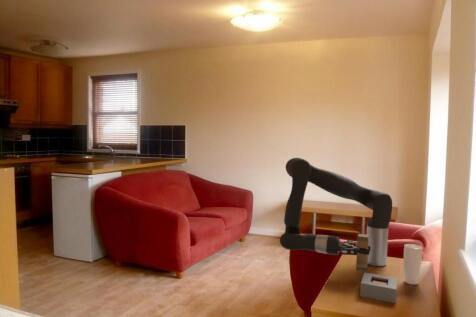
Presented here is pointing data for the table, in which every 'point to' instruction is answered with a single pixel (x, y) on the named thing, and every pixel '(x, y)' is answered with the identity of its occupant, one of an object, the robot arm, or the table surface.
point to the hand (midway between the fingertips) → (369, 250)
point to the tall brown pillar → (362, 258)
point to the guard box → (379, 287)
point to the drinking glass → (412, 263)
